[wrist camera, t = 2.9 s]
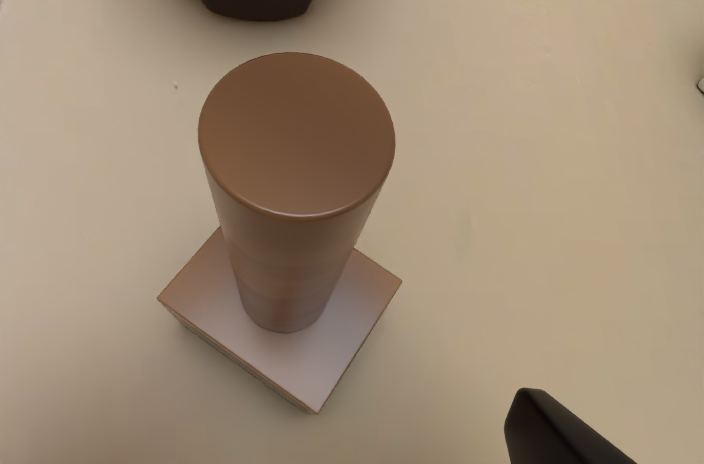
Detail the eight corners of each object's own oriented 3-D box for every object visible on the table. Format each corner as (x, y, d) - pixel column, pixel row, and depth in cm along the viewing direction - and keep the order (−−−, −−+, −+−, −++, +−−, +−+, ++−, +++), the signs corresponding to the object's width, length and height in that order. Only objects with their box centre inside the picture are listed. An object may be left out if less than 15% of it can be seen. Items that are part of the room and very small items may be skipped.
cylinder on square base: (308, 415, 17) (385, 412, 5) (179, 322, 18) (-11, 131, 6) (378, 306, 19) (550, 126, 7) (260, 225, 20) (241, -68, 8)
